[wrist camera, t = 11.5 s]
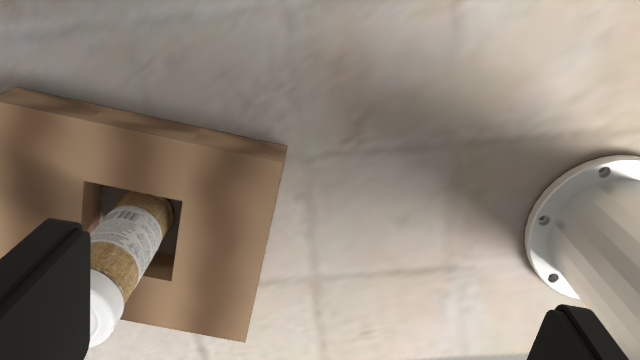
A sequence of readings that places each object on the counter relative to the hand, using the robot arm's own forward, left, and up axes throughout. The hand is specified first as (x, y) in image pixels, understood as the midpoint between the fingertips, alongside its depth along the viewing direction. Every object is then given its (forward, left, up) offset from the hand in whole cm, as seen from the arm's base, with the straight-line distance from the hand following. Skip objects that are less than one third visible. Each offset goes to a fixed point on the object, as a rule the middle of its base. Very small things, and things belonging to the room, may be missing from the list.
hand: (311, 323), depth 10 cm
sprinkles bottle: (+11, +14, -28) cm, 34 cm away
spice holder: (+11, +14, -28) cm, 34 cm away
